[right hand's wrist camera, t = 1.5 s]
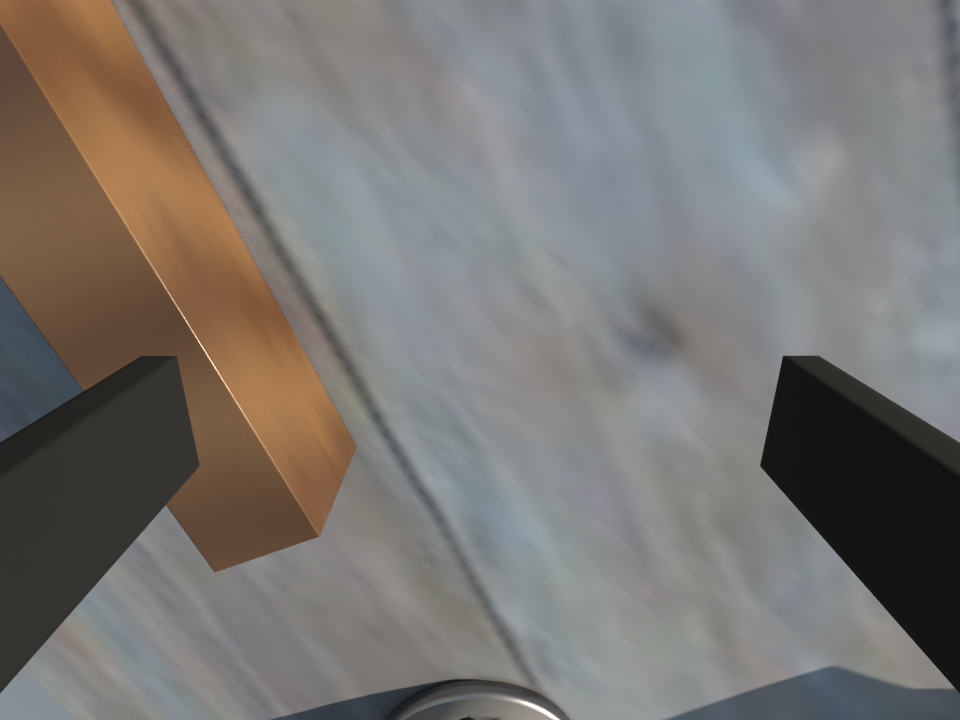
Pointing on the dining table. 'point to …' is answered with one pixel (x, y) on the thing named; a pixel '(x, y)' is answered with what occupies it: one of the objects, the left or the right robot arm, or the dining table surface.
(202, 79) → the dining table surface
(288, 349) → the post
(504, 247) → the dining table surface
